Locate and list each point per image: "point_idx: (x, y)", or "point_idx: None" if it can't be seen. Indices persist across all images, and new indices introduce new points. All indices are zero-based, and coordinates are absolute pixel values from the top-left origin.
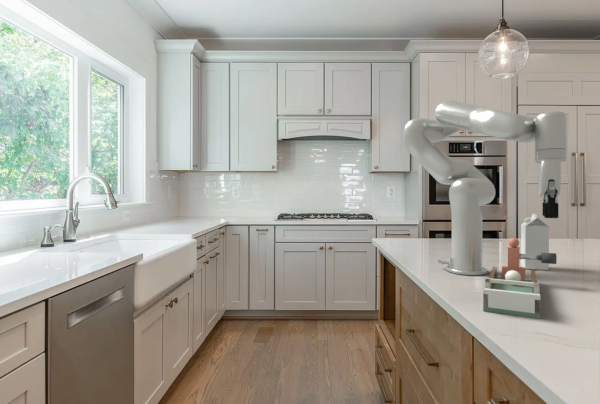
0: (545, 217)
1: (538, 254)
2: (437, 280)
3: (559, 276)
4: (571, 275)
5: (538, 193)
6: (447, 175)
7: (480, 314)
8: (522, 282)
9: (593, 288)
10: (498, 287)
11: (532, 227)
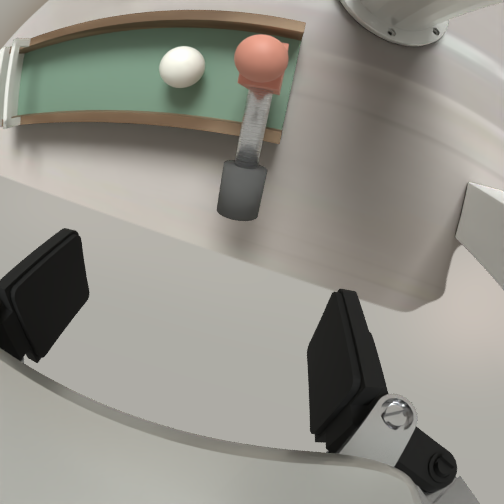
0: (66, 232)
1: (484, 233)
2: None
3: (390, 237)
4: (403, 269)
5: (77, 439)
6: None
7: None
8: (4, 101)
9: (260, 265)
10: (144, 38)
11: None
